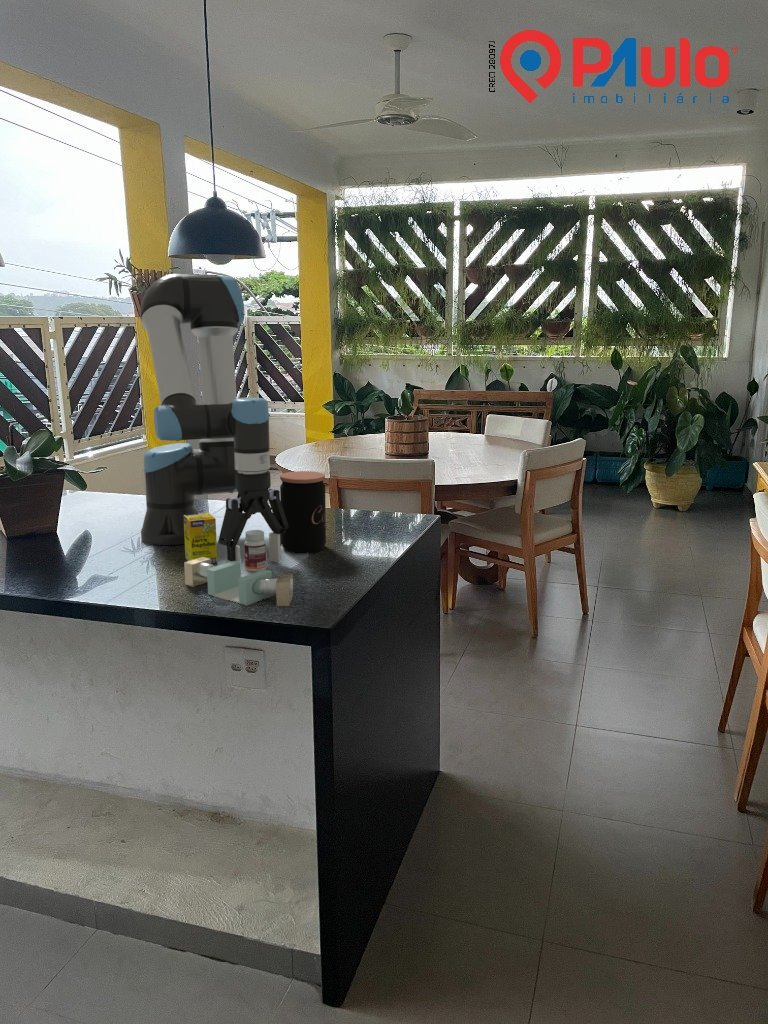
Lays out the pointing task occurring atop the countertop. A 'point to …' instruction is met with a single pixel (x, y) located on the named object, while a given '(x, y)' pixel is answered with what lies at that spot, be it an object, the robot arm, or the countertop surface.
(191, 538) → the supplement box
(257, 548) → the pill bottle
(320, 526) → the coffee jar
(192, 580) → the shaft
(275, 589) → the shaft
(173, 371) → the robot arm
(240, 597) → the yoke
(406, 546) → the countertop surface
